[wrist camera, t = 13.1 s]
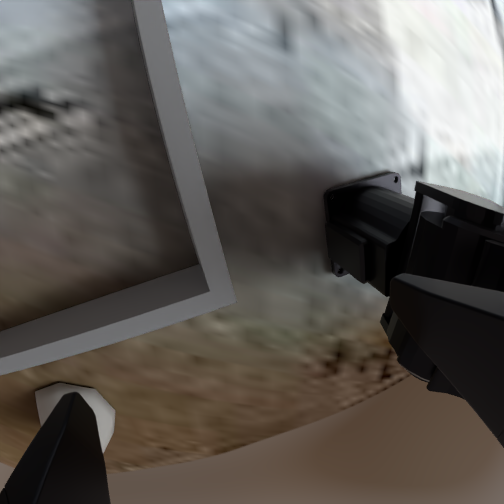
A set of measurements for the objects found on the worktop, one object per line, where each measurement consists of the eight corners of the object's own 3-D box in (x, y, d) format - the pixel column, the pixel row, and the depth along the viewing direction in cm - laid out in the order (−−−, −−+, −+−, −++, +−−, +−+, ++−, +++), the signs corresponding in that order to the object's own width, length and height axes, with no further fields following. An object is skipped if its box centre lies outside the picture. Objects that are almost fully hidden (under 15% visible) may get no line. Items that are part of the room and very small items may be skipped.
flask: (126, 433, 23) (138, 531, 15) (54, 435, 21) (50, 528, 13) (103, 377, 21) (103, 495, 12) (21, 381, 19) (-2, 487, 10)
